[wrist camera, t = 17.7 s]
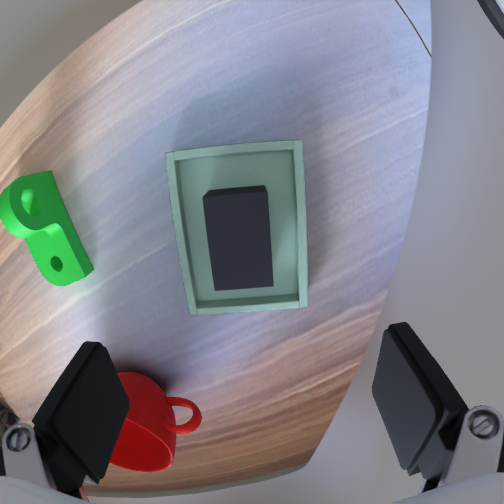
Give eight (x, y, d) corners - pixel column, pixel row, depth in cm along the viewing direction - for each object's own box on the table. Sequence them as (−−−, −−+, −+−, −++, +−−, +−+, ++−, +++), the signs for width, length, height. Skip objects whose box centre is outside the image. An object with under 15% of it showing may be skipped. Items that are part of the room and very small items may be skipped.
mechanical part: (19, 194, 26) (-27, 210, 19) (50, 170, 26) (2, 181, 18) (59, 285, 30) (22, 318, 22) (93, 269, 29) (56, 304, 22)
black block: (264, 184, 26) (267, 190, 22) (270, 268, 29) (273, 286, 25) (208, 189, 26) (202, 196, 22) (218, 272, 29) (214, 291, 25)
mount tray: (298, 140, 25) (302, 139, 23) (304, 296, 31) (307, 306, 29) (170, 152, 26) (164, 152, 24) (193, 305, 31) (189, 315, 29)
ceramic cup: (228, 405, 36) (225, 466, 27) (130, 422, 38) (113, 471, 28) (181, 333, 32) (161, 397, 23) (79, 362, 34) (48, 411, 24)
